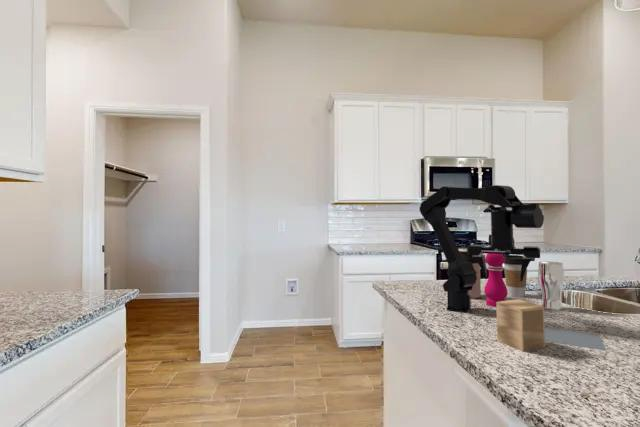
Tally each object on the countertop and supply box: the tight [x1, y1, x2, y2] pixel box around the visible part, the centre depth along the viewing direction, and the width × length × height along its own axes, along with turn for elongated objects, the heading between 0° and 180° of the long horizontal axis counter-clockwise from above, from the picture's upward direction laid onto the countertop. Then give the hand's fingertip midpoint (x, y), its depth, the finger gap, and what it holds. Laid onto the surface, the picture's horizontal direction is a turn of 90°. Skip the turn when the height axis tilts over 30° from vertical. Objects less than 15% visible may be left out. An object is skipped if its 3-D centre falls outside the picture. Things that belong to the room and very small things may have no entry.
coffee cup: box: [503, 254, 528, 298], centre depth 129 cm, size 8×8×15 cm
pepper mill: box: [484, 249, 509, 308], centre depth 117 cm, size 7×7×20 cm
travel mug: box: [458, 248, 482, 300], centre depth 129 cm, size 8×8×18 cm
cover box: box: [496, 298, 546, 352], centre depth 81 cm, size 7×7×10 cm
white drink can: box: [537, 261, 565, 311], centre depth 111 cm, size 7×7×15 cm
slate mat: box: [544, 326, 607, 351], centre depth 84 cm, size 13×12×1 cm
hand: (503, 280), depth 99 cm, fingers open, 9 cm apart
